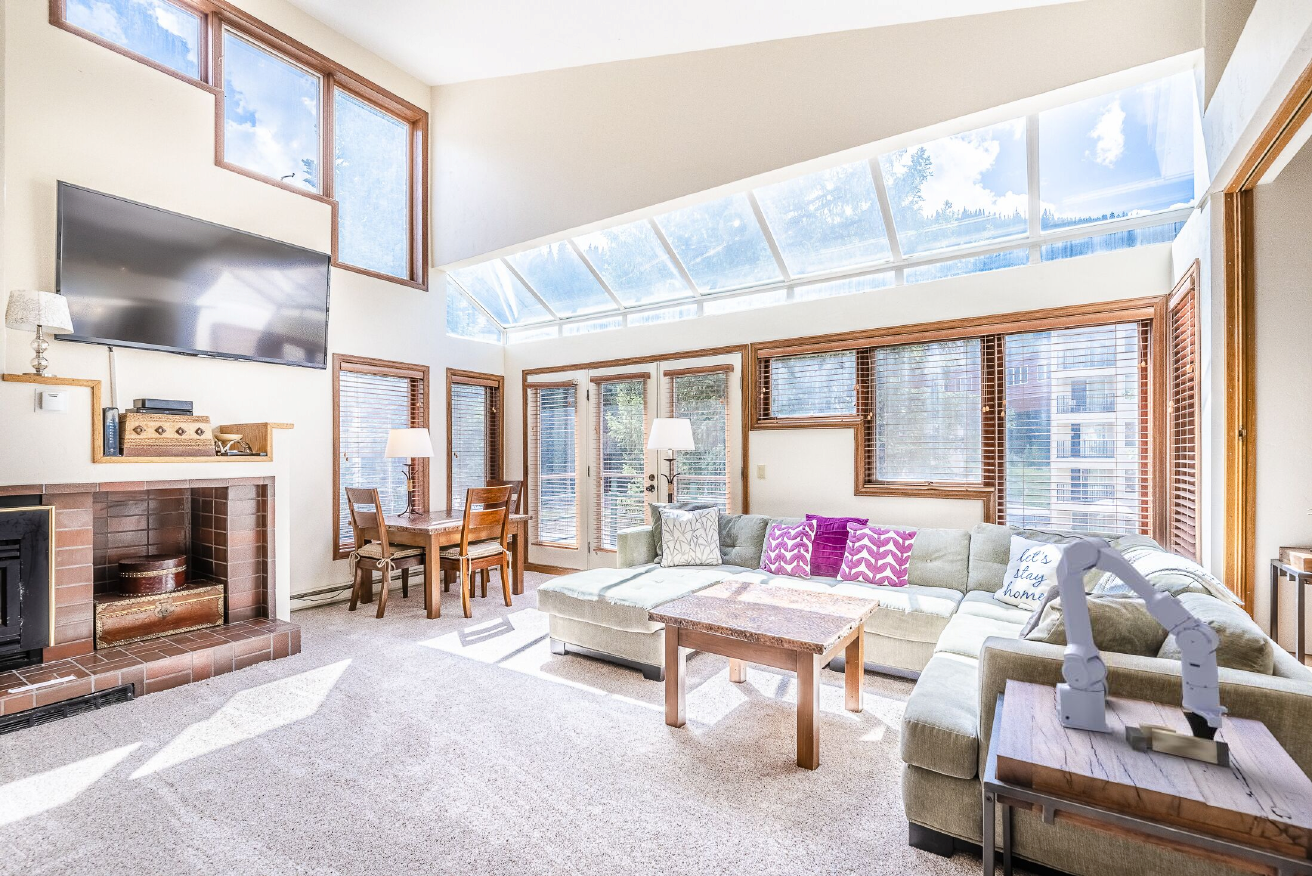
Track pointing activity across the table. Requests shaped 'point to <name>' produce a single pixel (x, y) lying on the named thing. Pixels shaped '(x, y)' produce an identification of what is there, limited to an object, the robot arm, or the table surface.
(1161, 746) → the bar
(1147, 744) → the tong pivot
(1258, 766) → the table surface
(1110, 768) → the table surface
